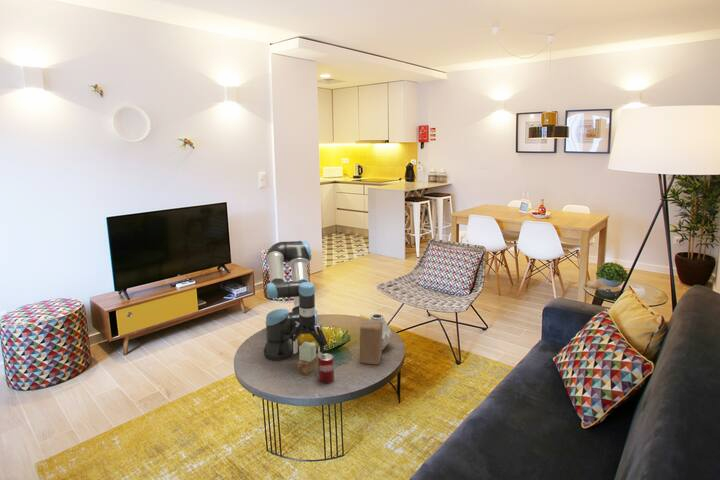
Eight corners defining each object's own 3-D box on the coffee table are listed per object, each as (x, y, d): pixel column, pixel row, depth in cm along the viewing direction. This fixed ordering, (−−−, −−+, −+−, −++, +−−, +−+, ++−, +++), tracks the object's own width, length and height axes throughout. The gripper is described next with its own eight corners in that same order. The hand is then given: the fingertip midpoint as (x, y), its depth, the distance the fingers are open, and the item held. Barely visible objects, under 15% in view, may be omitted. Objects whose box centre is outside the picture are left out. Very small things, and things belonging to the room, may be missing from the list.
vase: (359, 353, 245) (359, 320, 241) (364, 340, 261) (364, 309, 257) (390, 356, 243) (390, 323, 238) (393, 342, 258) (393, 311, 254)
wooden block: (378, 365, 233) (379, 328, 228) (359, 363, 235) (359, 326, 230) (381, 356, 242) (382, 320, 238) (363, 354, 244) (363, 319, 240)
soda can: (318, 376, 222) (318, 353, 219) (333, 376, 222) (333, 353, 220) (318, 384, 215) (318, 360, 212) (334, 384, 215) (334, 360, 213)
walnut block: (297, 373, 224) (297, 362, 223) (310, 362, 235) (310, 352, 234) (306, 376, 222) (306, 364, 221) (318, 365, 233) (318, 354, 232)
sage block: (299, 359, 226) (299, 346, 224) (305, 354, 231) (305, 341, 230) (310, 361, 224) (310, 348, 222) (316, 356, 229) (315, 343, 228)
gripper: (280, 313, 224) (281, 353, 228) (327, 321, 214) (327, 363, 219) (288, 308, 230) (289, 347, 235) (334, 315, 221) (334, 356, 226)
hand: (307, 355), depth 227 cm, fingers open, 13 cm apart
